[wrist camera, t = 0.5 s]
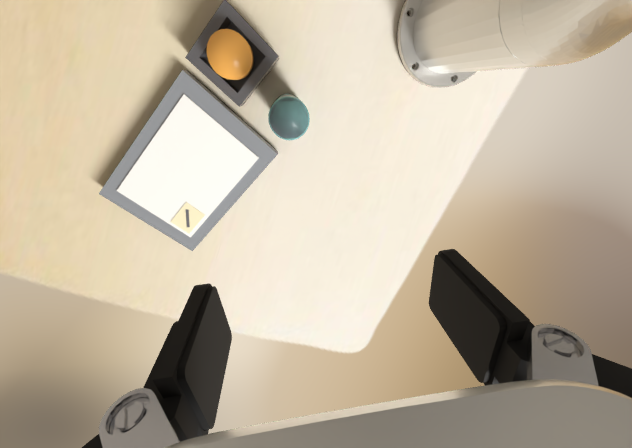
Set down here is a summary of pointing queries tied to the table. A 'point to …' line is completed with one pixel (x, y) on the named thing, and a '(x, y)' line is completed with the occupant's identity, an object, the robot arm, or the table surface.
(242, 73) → the button
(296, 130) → the marker
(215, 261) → the table surface
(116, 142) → the table surface
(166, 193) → the drawing board
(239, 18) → the button housing
